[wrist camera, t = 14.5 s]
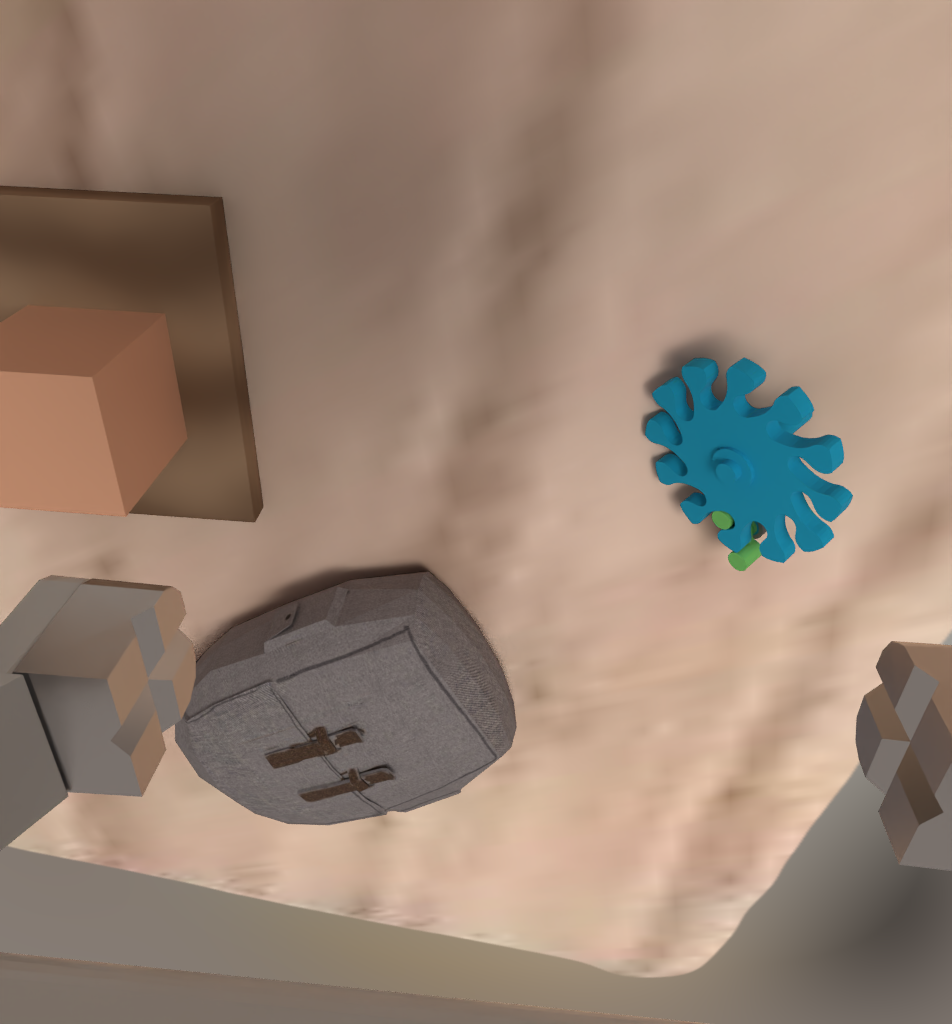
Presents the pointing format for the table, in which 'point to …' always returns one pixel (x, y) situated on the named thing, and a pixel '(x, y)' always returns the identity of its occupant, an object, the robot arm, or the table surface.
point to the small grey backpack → (349, 704)
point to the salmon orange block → (85, 408)
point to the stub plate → (155, 289)
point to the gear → (747, 462)
